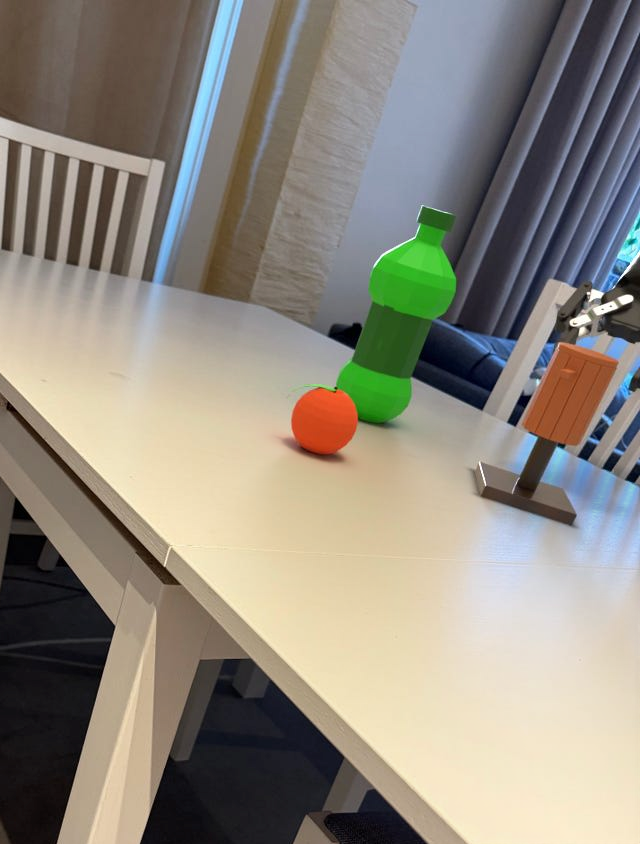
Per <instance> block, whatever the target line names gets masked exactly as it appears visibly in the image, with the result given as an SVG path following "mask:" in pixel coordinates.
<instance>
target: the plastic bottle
mask: <svg viewBox="0 0 640 844" xmlns="http://www.w3.org/2000/svg"><path fill="white" fill-rule="evenodd" d="M456 218H457V215H455V214H452V213H449V212H445V211H442V210H440V209H439V210H438V209H435V208H432V207H428V206H426V205H421V207H420V209H419V213H418V215H417V218H416V221H415V222H416V223H418V224H419V226H418V228H417V231H416V234H415V237H413V238H411V239H409V240H407V241H404V242H402V243H400V244H398V245H396V246H395V247H392V248H391V249H389V250H387V251H386V252H384V253H382V254H381V255H380V256H379V257H378V259H377V260H376V262H375V263H374V264H373V267H372V269H371V273H370V276H369V277H370V278H369V281H368V289H367V290H368V293H369V296H370V298H371V303H370V306H369V309H368V312H367V315H366V318H365V320H364V323H363V327H362V329H361V332H360V334H359V338H358V341H357V343H356V346H355V349H354V352H353V355H352V357H351V358H349V360H347V362H346V363H345V364H344V365H343V366H342V368H341V369H340V370H339V373H338V375H337V378H336V383H335V387H338V390H341V391H343V392H345V393H346V394H347V395H348V396H349V397H350V398H351V400H352V401H353V403H354V404H355V407H356V410H357V415H358V420H359V419H360V420H362V421H365V422H371V423H374V424H383V422H388V421H391V420H393V419H395V418H397V417H398V416H400V415H402V414H403V413H404V411H405V410H406V409H407V408H408V407H409V405H410V402H411V399H412V391H413V390H412V379H411V378H412V375H413V373H414V370H415V367H416V366H417V363H418V360H419V358H420V355H421V352H422V350H423V348H424V344H425V342H426V339H427V337H428V335H429V332H430V329H431V326H432V324H433V322H434V321H435V320H436V319H437V318H439V317H441V316H442V315H444V314H445V313H446V312H447V310H448V309H449V307H450V306H451V304H452V302H453V299H454V297H455V294H456V292H457V278H456V274H455V273H454V271H453V268H452V265H451V263H450V261H449V259H448V257H447V254H446V252H445V251H444V249H443V247H442V243H443V240H444V237H445V234H446V232H449V233H451V232H452V229H453V226H454V224H455V220H456Z"/></svg>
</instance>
